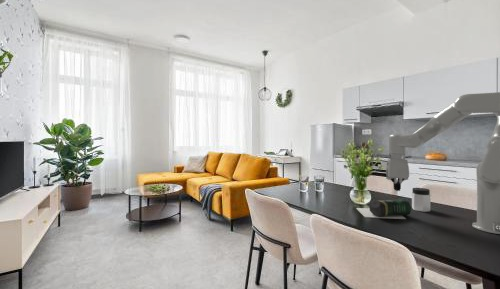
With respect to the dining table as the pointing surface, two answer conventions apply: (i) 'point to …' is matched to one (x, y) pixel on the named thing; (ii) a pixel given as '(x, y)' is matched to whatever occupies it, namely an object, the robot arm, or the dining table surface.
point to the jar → (421, 199)
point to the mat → (368, 214)
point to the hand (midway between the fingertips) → (397, 190)
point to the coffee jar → (390, 207)
